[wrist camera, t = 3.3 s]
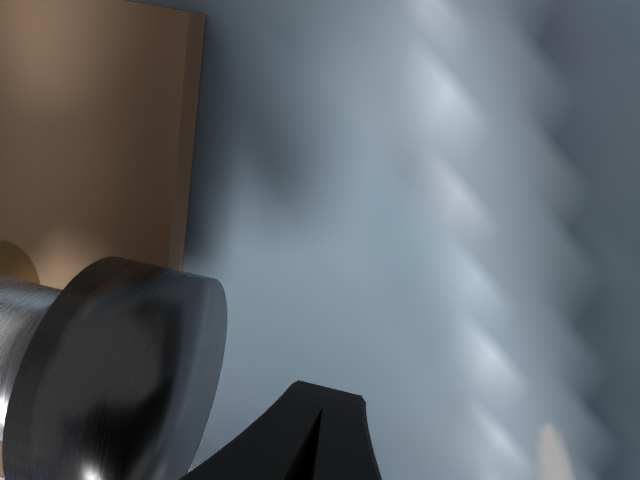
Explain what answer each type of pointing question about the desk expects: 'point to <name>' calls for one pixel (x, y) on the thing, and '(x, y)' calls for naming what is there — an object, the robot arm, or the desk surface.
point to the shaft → (106, 369)
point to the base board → (96, 132)
